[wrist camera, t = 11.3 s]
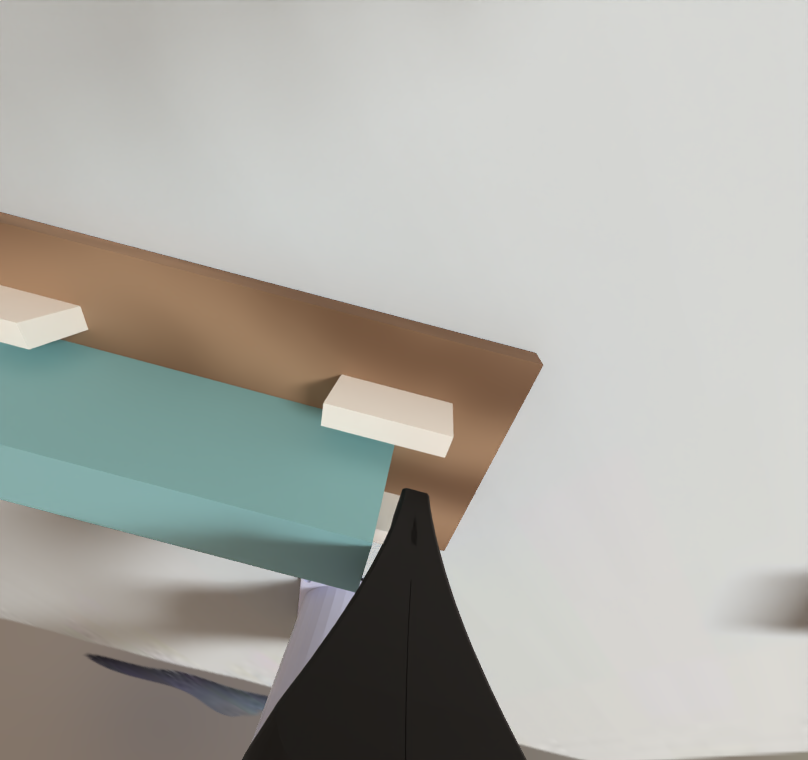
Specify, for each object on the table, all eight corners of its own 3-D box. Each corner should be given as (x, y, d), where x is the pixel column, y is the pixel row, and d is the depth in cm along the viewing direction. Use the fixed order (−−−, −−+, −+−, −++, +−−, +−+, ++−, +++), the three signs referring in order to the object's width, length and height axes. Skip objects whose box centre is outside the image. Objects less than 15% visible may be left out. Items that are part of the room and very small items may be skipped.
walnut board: (444, 534, 17) (444, 550, 17) (42, 430, 17) (21, 441, 16) (536, 353, 11) (543, 364, 10) (-83, 190, 11) (-127, 188, 10)
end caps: (411, 511, 15) (406, 550, 14) (52, 419, 15) (2, 446, 13) (452, 403, 12) (453, 436, 10) (-16, 280, 12) (-96, 293, 10)
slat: (384, 476, 14) (356, 593, 10) (56, 389, 14) (-116, 468, 10) (398, 429, 13) (372, 542, 8) (30, 331, 13) (-187, 395, 8)
